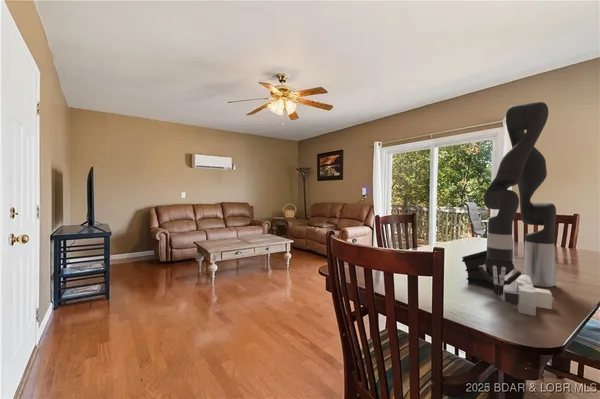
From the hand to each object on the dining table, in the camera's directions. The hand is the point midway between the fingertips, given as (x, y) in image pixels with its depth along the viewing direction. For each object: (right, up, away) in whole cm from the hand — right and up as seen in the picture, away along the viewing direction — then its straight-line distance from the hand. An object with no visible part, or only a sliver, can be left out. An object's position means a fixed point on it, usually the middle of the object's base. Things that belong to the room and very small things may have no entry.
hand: (498, 294), depth 98 cm
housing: (+6, -1, -4) cm, 7 cm away
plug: (+7, -1, -5) cm, 8 cm away
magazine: (+2, -1, +14) cm, 14 cm away
